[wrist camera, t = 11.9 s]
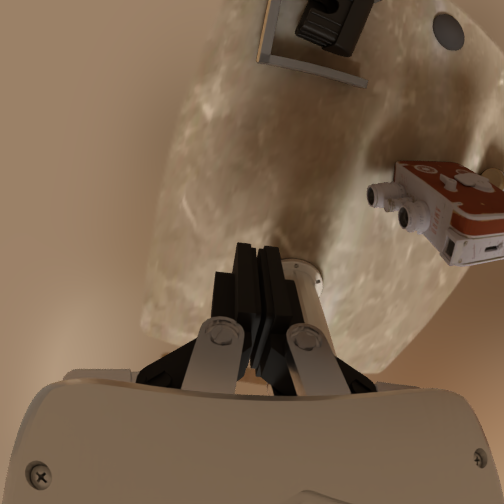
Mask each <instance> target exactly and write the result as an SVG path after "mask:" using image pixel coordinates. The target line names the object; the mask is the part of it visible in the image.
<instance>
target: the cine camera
mask: <svg viewBox="0 0 504 504" xmlns="http://www.w3.org/2000/svg"><path fill="white" fill-rule="evenodd" d="M367 200H368V203H369V205H370V206H371V207H374V208H377V207H379V208H384V210H385V211H386V212H394V211H399V212H398V219H399V223H400V226H401V227H402V228H403V229H406V230H407V231H408V232H414V231H418V232H417V234H424V236H425V237H426V238H427V239H428V240H429V241H430V242H431V243H432V244H433V245H434V247H435V248H436V249H437V250H438V251H439V252H440V256H441V257H442V258H443V259H444V260H445V261H446V263H447V264H448V265H449V266H453V265H455V266H470V265H475V264H480V263H486V262H491V261H496V260H501V259H504V191H502V190H501V189H499V188H498V187H496V186H495V185H493V184H492V183H490V182H489V179H488V178H485V177H483V176H480V175H478V174H476V173H474V172H473V171H471V170H469V169H468V168H466V167H464V166H462V165H460V164H458V163H453V162H436V161H397V162H396V164H395V172H394V182H391V183H388V182H384V183H378V184H372V185H370V186H368V188H367Z"/></svg>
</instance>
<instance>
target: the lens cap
mask: <svg viewBox="0 0 504 504" xmlns="http://www.w3.org/2000/svg"><path fill="white" fill-rule="evenodd" d="M433 31H434V34H435V37H436V38H437V40H438V42H439V43H440V44H441V45H442V46H443V47H445V48H446V49H448V50H459V49H461V48H462V46H463V44H464V33H463V30H462V27H461V26H460V24H459V23H458V21H457V20H456V19H454V18H453V17H452V16H450V15H447V14H442V15H438V16H436V17H435V19H434V21H433Z"/></svg>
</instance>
